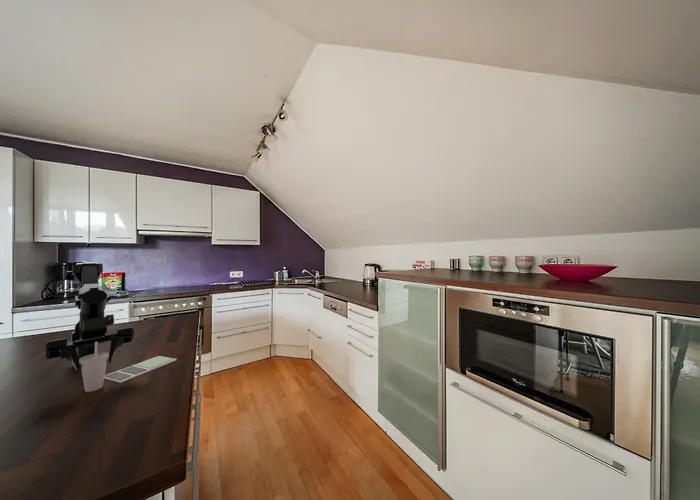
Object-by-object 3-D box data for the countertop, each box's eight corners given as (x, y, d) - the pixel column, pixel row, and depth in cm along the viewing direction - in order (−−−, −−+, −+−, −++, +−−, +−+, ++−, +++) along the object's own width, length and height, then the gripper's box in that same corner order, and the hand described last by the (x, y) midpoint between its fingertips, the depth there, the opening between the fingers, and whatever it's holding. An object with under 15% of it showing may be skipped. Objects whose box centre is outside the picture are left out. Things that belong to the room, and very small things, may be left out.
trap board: (101, 378, 79) (101, 376, 79) (158, 357, 96) (158, 355, 96) (120, 383, 76) (120, 381, 76) (176, 360, 92) (176, 358, 92)
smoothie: (88, 395, 69) (89, 346, 70) (71, 393, 71) (72, 344, 71) (114, 384, 76) (115, 338, 76) (98, 382, 77) (99, 337, 77)
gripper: (46, 313, 69) (43, 362, 62) (133, 303, 83) (139, 342, 76) (47, 335, 74) (44, 383, 67) (129, 322, 88) (134, 361, 81)
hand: (94, 366), depth 72 cm, fingers closed on smoothie, 6 cm apart
